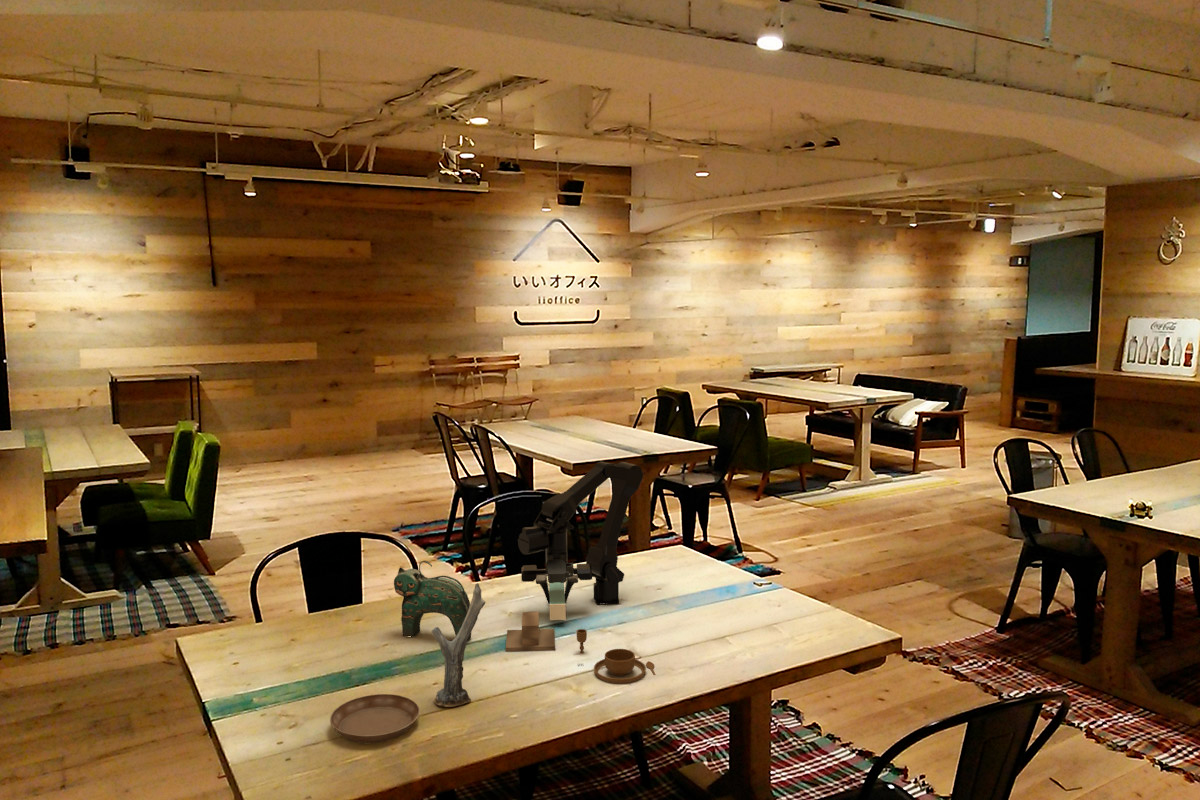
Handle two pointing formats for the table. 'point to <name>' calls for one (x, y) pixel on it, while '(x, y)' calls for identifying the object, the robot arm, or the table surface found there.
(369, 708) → the plant saucer
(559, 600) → the bar
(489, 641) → the table surface
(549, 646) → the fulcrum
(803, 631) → the table surface
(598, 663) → the place setting
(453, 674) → the bare tree trunk
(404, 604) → the ceramic cat
